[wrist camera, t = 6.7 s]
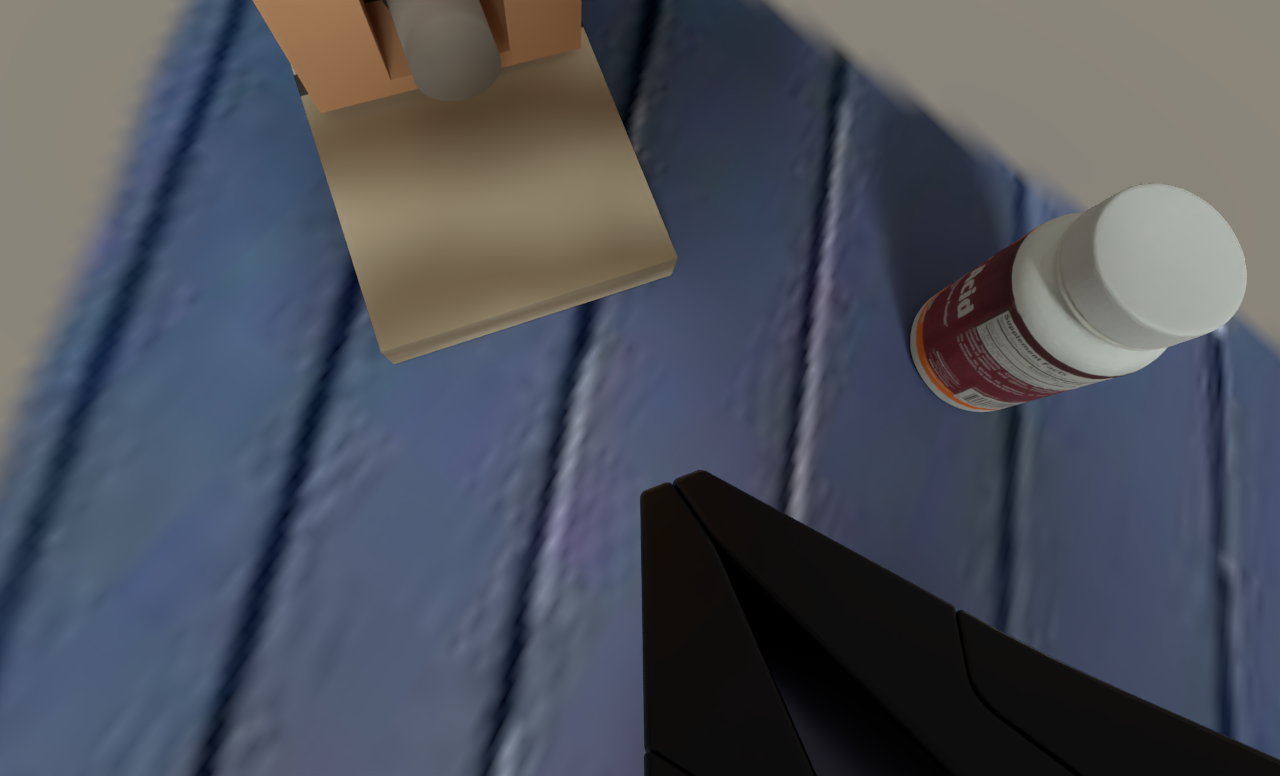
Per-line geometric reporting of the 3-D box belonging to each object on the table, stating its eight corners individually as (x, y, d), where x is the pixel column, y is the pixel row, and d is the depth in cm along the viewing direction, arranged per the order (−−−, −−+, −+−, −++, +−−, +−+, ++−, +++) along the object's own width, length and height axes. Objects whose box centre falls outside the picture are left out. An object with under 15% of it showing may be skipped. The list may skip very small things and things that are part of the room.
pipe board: (671, 275, 23) (748, 73, 13) (394, 364, 22) (232, 212, 11) (548, -26, 25) (533, -400, 15) (289, 33, 24) (76, -343, 14)
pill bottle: (959, 265, 25) (1153, 131, 16) (1052, 356, 24) (1299, 266, 16) (879, 344, 23) (1043, 244, 15) (974, 441, 23) (1195, 391, 15)
